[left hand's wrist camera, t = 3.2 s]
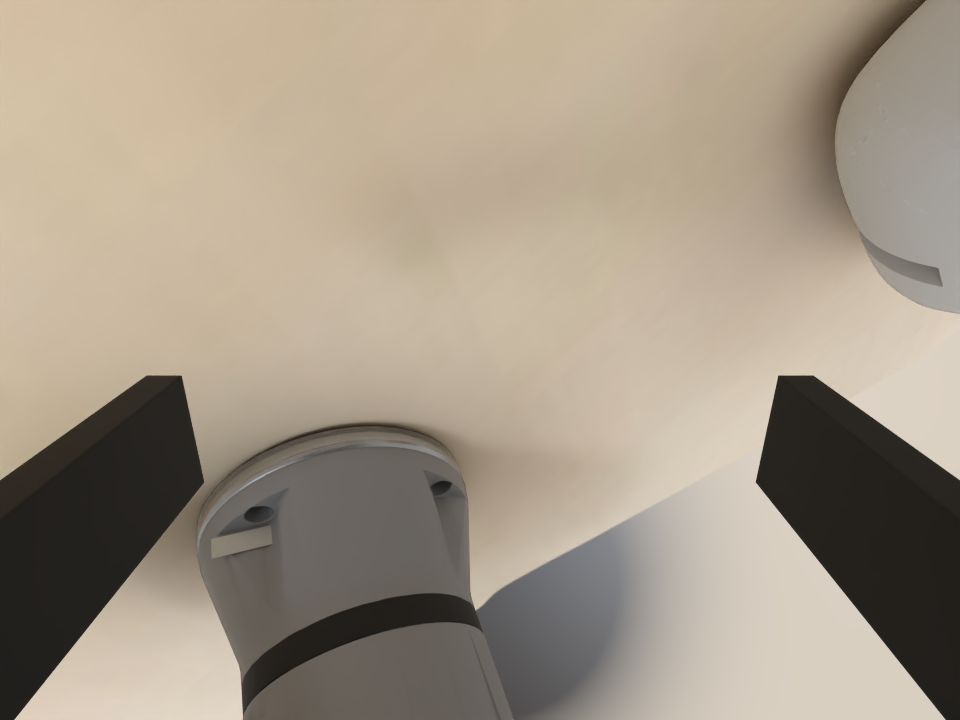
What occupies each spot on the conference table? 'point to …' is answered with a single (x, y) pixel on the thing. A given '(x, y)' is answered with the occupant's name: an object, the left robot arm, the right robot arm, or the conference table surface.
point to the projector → (908, 156)
